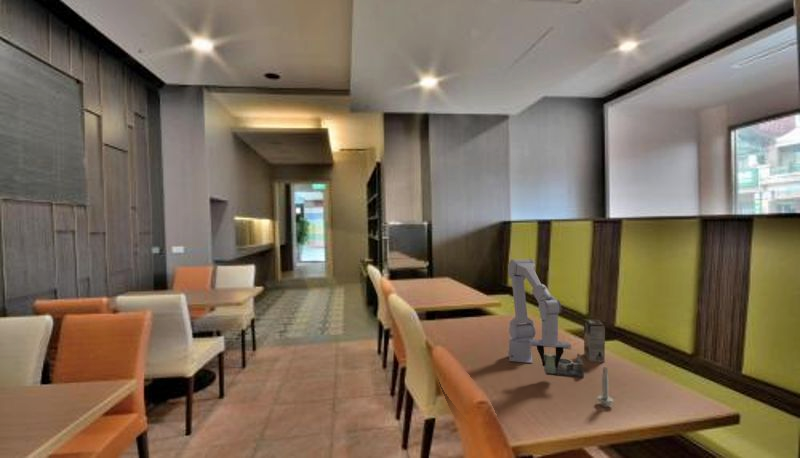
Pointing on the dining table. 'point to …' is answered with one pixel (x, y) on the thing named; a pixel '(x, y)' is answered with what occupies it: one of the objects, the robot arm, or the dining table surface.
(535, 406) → the dining table surface
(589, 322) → the coffee box
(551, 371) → the grey-green rounded cylinder
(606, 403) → the screw
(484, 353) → the dining table surface
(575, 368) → the cup bracket
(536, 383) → the dining table surface
